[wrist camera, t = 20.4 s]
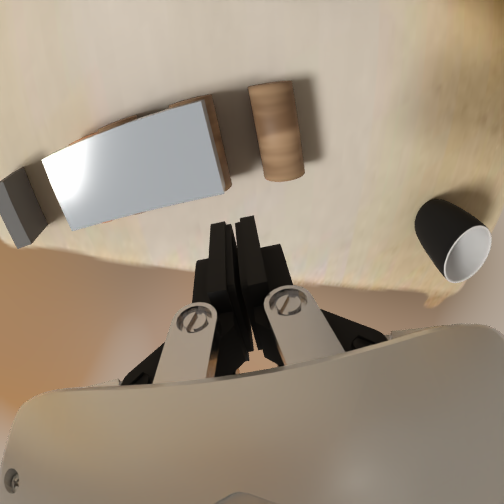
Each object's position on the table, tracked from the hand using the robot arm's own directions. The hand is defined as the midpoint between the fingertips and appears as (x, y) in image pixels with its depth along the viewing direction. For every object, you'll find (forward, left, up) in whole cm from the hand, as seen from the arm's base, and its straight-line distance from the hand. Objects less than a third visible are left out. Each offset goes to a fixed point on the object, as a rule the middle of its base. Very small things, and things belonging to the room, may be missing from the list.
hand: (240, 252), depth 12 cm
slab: (+10, 0, -19) cm, 22 cm away
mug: (-28, +17, -23) cm, 40 cm away
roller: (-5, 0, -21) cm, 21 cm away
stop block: (+28, 0, -23) cm, 37 cm away
